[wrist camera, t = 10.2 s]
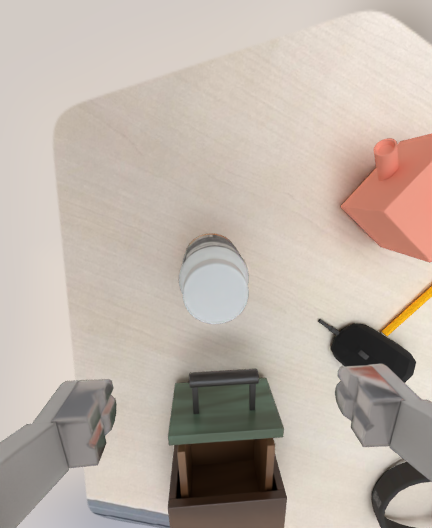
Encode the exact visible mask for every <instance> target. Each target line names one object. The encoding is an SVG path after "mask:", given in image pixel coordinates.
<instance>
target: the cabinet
mask: <svg viewBox="0 0 432 528" xmlns="http://www.w3.org/2000/svg"><path fill="white" fill-rule="evenodd" d="M177 450H178V445H174V454H173V463H172V473H171V482H170V492H169V501H168V514H169V522H170V528H284V523H285V513H286V502H287V496H286V493H285V489H284V485H283V482H282V478H281V474H280V471H279V467H278V464H277V460H276V456H275V453H274V467H273V482H272V491H265V492H253V493H241V494H230V495H218V496H206V497H194V498H181V487H180V477H179V466H178V455H177Z"/></svg>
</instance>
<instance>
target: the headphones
mask: <svg viewBox="0 0 432 528" xmlns="http://www.w3.org/2000/svg"><path fill="white" fill-rule="evenodd" d="M424 482H431V481H430V480H429V479H428V478H426V477H425V476H424V475H423V474H422V473H420V472H419V471H418V470H417V469H415V468H414V467H413V466H412V465H410V464H409V463H408V462H405V463H402V464H399V465H397V466H395V467H393V468H391V469H390V470H388V471H386V472H385V474H384V475H383V476H382V477H381V478H380V479H379V481H378V482H377V484H376V486H375V488H374V490H373V492H372V503H373V509H374V512H375V515H376V517H377V520H378V522H379V525H380V527H381V528H414V527H409V526H405V525H402V524H398V523H396V522H393V521H391V520H389V519H387V518H386V517H384V514H385V509H386V507H387V506H388V504H389V502H390V501H391V500H392V499H393V498H394V497H395V495H396V494H397V493H398V492H399V491H401V490H403V489H405V488H407V487H409V486H412V485H415V484H418V483H424Z"/></svg>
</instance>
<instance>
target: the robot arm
mask: <svg viewBox="0 0 432 528" xmlns="http://www.w3.org/2000/svg"><path fill="white" fill-rule="evenodd" d="M338 377H339V379H340V380H341V381H340V382H339V383H338V384H337V385H336V390H335V396H336V401H337V404H338V407H339V409H340V411H341V412H342V414H343V415H344V416H345V417H347V418H348V419H350V420H351V428H352V430H353V432H354V433H355V435H356V436H357V438H358V440H359V441H360V443H361V444H362V446H363V447H377V446H390V448H391V449H392V450H393V451H394V452H396V453H397V454H398V455H399V456H401V457H402V458H403V459H404V460H405V461H407V462H408V463H409V464H410V465H412V466H413V467H414V468H415V469H417V470H418V471H419V472H420V473H422V474H423V475H424V476H425V477H426V478H428V479H429V480H430V481H431V482H432V402H430V401H428V400H422V399H421V398H420V397H419V396H417V395H416V394H415V393H414V392H413V391H412V390H411V389H410V388H409V387H408V386H407V385H406V384H405V383H404V382H403V381H402V380H401V379H400V378H399V377H398V376H397V375H396V374H394V373H393V372H392V371H391V370H390V369H389V368H388V367H387V366H386V365H384V364H371V365H360V366H344V367H340V368H339V370H338ZM112 391H113V384H112V381H111V380H110V379H102V380H80V381H65V382H63V383H62V384H61V385H60V387H59V388H58V389H57V390H56V392H55V393H54V394H53V396H52V397H51V399H50V400H49V401H48V403H47V404H46V405H45V407H44V408H43V409H42V411H41V412H40V414H39V415H38V416H37V418H36V419H35V420H34V422H33V423H32V424H27V425H25V426H23V427H22V428H21V429H19V430H18V431H16V432H15V433H13V434H12V435H10V436H9V437H8V438H6V439H5V440H3V441H2V442H0V528H16V527H17V526H18V525H19V524H20V522H22V521H23V519H24V518H25V517H26V516H27V515H28V514H29V513H30V512H31V511H32V510H33V509H34V508H35V506H36V505H37V504H38V503H39V502H40V501H41V500H42V499H43V498H44V497H45V495H46V494H47V493H48V492H49V491H50V490H51V489H52V488H53V487H54V486H55V485H56V484H57V482H58V481H59V480H60V479H61V478H62V477H63V476H64V475H65V474H66V473H67V472H68V470H69V468H75V467H86V466H95V465H98V463H99V461H100V458H101V456H102V453H103V450H104V448H105V445H106V439H105V435H106V434H107V433H108V432H110V431H111V430H112V427H113V424H114V421H115V416H116V400H115V398H114V397H113V396H112V395H111V393H112Z"/></svg>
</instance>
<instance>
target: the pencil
mask: <svg viewBox="0 0 432 528" xmlns="http://www.w3.org/2000/svg"><path fill="white" fill-rule="evenodd" d="M431 297H432V286H431V287H430V288H429V289H428V290H427V291H425V292H424V293H423V294H422V295H421V296H420V297H419V298H418V299H417V300H415V301H414V302H413V303H412V304H411V305H410V306H409V307H408V308H407V309H406V310H404V311H403V312H402V313H401V314H400V315H399V316H398V317H397V318H396V319H394V320H393V321H392V322H391V323H390V324H389V325H388V326H387V327H386V328H385V329H383V330H382V331H381V332H382V333H383V334H385V335H386V336H388V335H389V334H390V333H392V332H393V331H394V330H395V329H396V328H397V327H398V326H399V325H401V324H402V323H403V322H404V321H405V320H406V319H407V318H408V317H409V316H411V315H412V314H413V313H414V312H415V311H416V310H417V309H418V308H420V307H421V306H422V305H423V304H424V303H425V302H426V301H427V300H428V299H430V298H431Z"/></svg>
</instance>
